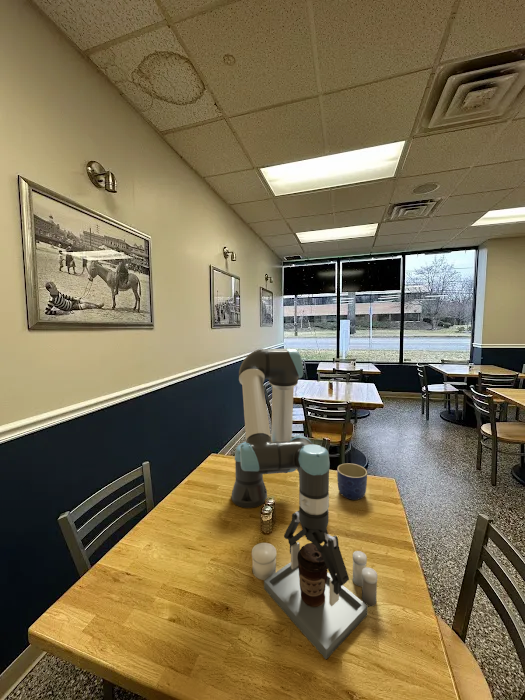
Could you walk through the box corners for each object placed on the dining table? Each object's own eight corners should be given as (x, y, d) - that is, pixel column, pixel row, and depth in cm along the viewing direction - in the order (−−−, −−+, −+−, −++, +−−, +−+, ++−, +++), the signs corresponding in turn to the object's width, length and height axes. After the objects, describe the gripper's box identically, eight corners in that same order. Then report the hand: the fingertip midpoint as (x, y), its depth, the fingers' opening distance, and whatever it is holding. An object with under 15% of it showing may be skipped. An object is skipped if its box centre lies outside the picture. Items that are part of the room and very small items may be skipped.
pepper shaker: (358, 598, 78) (359, 572, 77) (366, 590, 80) (367, 565, 79) (371, 609, 75) (372, 582, 74) (379, 600, 77) (380, 574, 76)
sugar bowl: (247, 568, 88) (246, 550, 87) (266, 556, 92) (265, 539, 92) (262, 585, 82) (261, 566, 82) (281, 571, 87) (281, 553, 86)
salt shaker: (349, 579, 84) (350, 555, 83) (357, 572, 86) (357, 548, 85) (361, 589, 81) (361, 563, 80) (368, 581, 83) (369, 556, 82)
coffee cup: (329, 616, 72) (330, 567, 71) (296, 610, 74) (296, 562, 73) (328, 585, 81) (329, 541, 79) (298, 580, 82) (298, 537, 81)
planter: (369, 491, 128) (370, 467, 127) (362, 506, 117) (363, 480, 116) (341, 483, 134) (342, 460, 133) (333, 496, 124) (333, 472, 123)
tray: (264, 588, 81) (264, 580, 81) (304, 560, 91) (304, 552, 90) (326, 659, 64) (326, 649, 63) (367, 614, 73) (367, 605, 73)
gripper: (271, 490, 82) (272, 560, 84) (345, 541, 63) (343, 630, 65) (290, 481, 87) (291, 548, 89) (365, 526, 67) (363, 610, 69)
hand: (313, 583), depth 77 cm, fingers open, 13 cm apart
